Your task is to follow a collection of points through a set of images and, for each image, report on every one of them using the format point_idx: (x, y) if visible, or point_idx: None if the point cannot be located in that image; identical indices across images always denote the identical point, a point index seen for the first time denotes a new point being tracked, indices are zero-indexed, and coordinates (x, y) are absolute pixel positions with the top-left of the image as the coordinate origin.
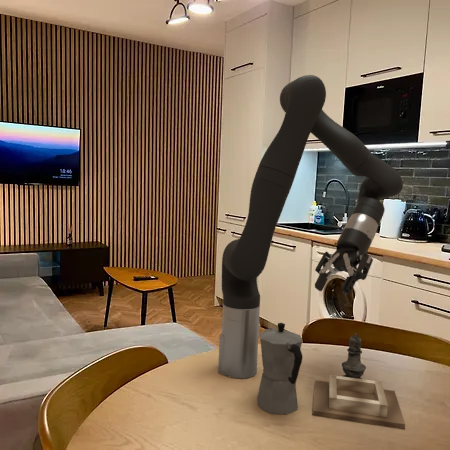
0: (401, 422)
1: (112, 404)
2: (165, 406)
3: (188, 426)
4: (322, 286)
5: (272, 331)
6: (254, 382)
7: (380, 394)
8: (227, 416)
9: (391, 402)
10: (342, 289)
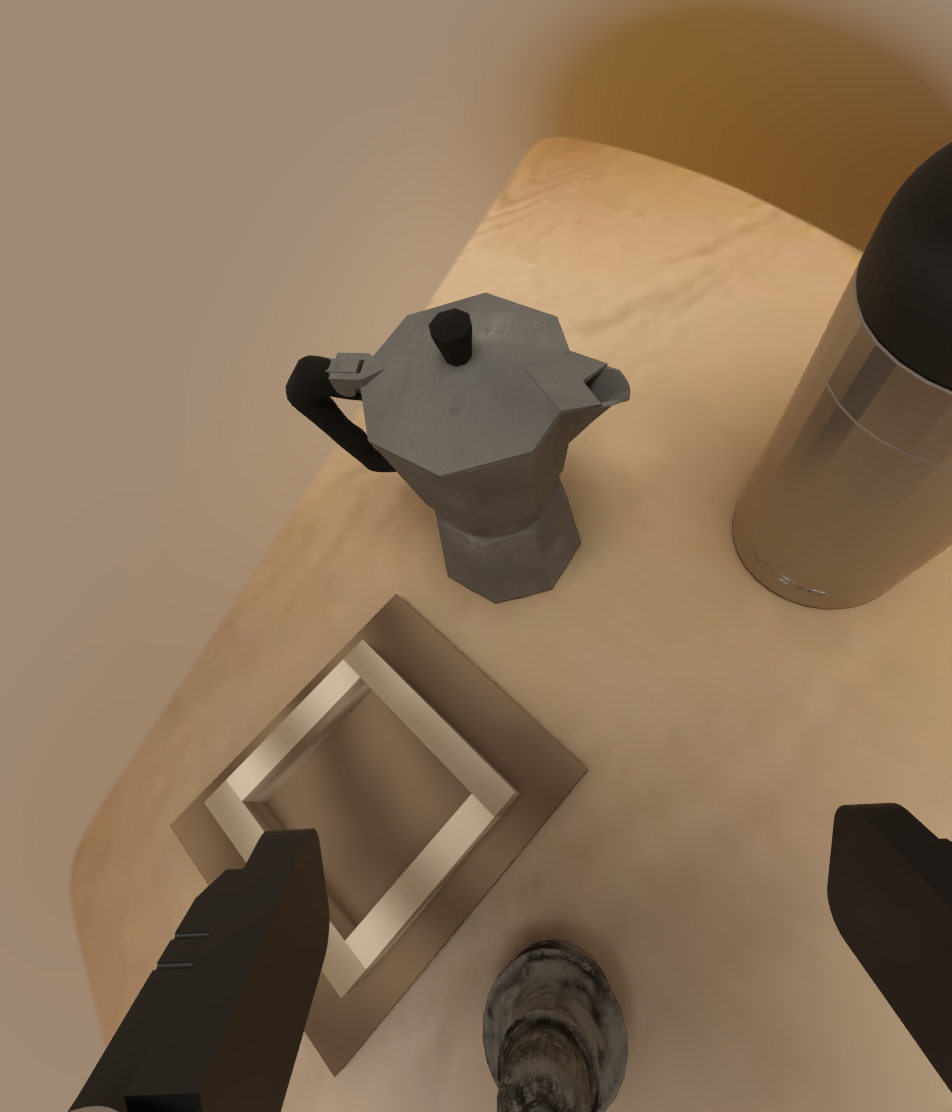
0: (183, 824)
1: (681, 183)
2: (624, 274)
3: None
4: (880, 958)
5: (502, 339)
6: (690, 546)
7: None
8: None
9: None
10: (287, 832)
